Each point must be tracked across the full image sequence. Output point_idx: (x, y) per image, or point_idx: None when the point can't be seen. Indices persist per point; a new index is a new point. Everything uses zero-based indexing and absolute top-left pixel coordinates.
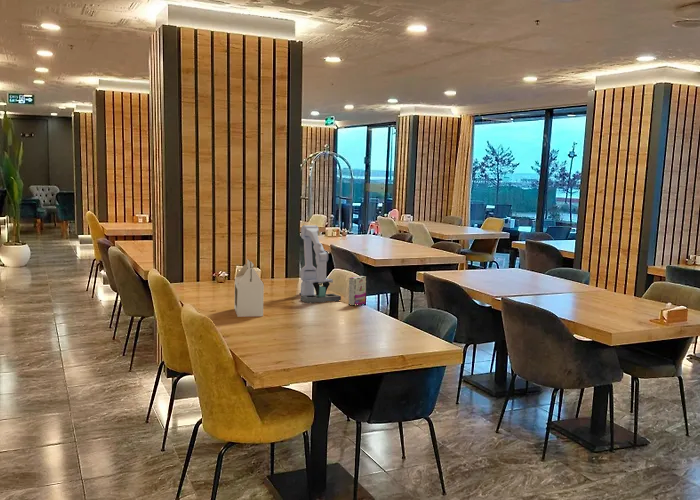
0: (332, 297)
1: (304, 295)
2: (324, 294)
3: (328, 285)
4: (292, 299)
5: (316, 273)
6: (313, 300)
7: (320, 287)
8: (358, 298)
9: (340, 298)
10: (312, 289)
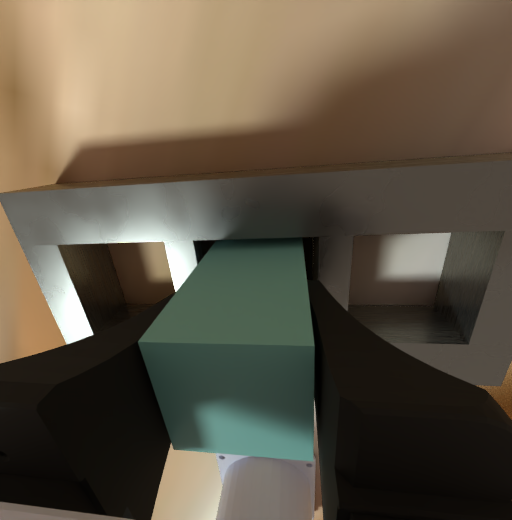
0: (123, 184)
1: (458, 367)
2: (215, 260)
3: (34, 359)
4: (506, 396)
5: None
6: (437, 160)
7: (286, 342)
8: None
9: (30, 189)
10: (243, 513)
